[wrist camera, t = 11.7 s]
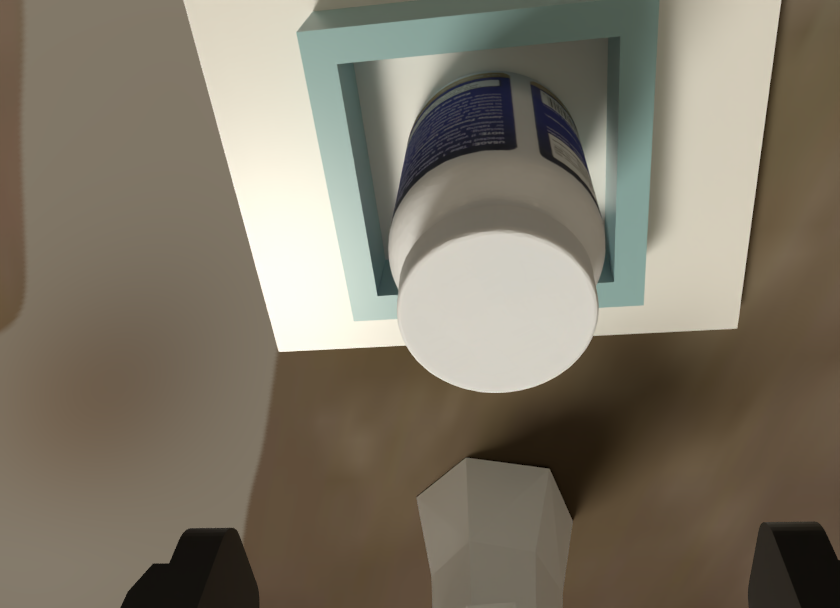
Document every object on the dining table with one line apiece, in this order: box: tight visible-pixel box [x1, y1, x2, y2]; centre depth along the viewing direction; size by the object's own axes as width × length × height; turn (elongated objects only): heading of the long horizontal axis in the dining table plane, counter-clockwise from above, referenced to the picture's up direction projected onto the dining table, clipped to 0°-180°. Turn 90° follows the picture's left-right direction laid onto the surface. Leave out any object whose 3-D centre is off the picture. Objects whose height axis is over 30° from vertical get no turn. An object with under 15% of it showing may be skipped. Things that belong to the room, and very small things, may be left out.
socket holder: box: [184, 0, 781, 352], centre depth 25 cm, size 18×16×4 cm
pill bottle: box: [388, 71, 605, 393], centre depth 22 cm, size 6×6×10 cm
